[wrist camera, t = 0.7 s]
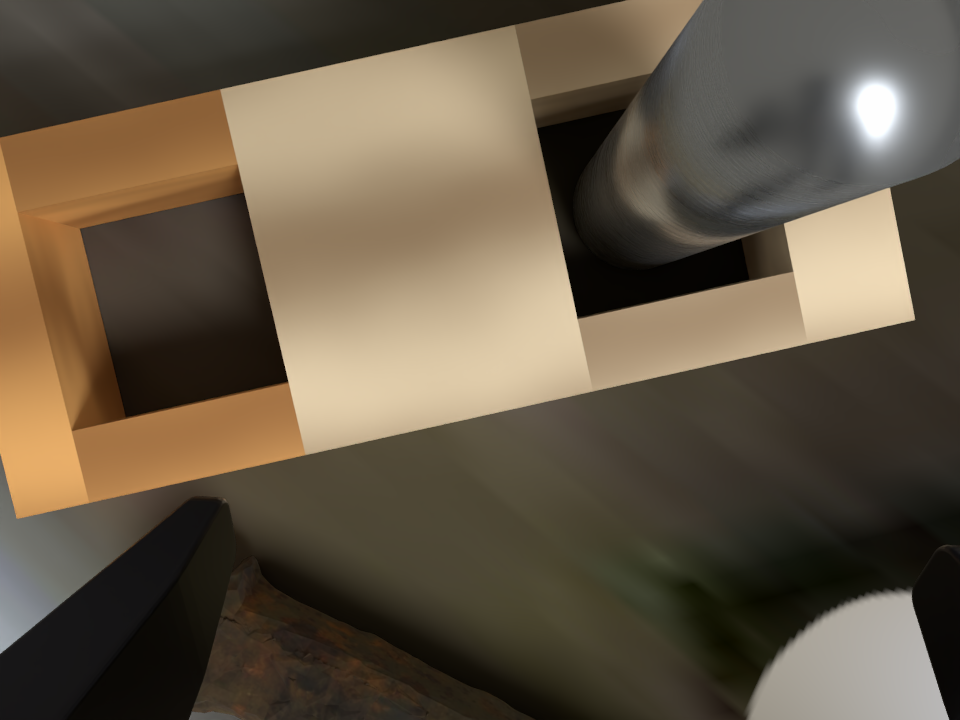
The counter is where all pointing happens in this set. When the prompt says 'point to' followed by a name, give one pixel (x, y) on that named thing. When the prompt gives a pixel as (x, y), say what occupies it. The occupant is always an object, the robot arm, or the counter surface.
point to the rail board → (382, 257)
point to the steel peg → (772, 123)
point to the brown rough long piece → (321, 667)
